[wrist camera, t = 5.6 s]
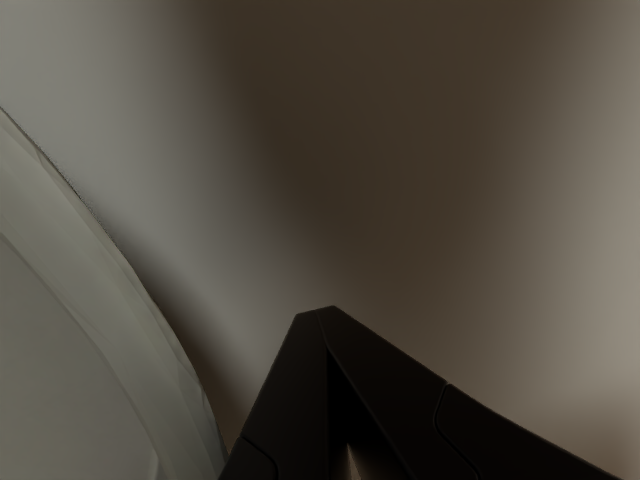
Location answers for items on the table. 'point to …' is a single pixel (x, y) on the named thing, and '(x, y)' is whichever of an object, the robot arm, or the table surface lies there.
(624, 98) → the table surface
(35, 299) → the grey round tray
